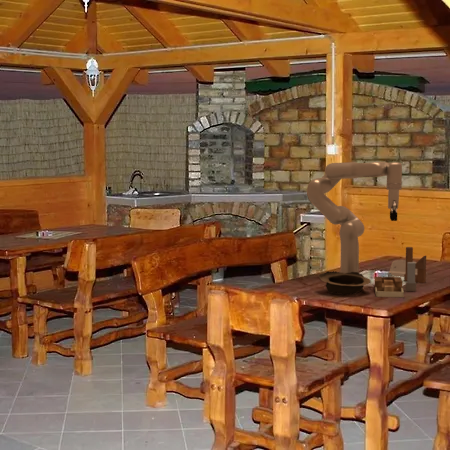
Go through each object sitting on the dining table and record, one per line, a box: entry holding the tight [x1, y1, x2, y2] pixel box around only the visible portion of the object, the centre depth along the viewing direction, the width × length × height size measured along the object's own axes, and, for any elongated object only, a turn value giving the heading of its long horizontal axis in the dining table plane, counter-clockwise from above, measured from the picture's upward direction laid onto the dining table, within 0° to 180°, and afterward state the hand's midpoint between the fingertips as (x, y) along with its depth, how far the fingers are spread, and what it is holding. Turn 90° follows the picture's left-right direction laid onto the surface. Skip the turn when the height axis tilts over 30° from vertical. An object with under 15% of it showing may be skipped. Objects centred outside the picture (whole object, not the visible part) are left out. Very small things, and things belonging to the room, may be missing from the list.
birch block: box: [385, 285, 394, 292], centre depth 397 cm, size 4×4×4 cm
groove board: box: [374, 276, 403, 292], centre depth 411 cm, size 13×13×6 cm
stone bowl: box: [318, 270, 371, 296], centre depth 406 cm, size 25×25×9 cm
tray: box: [374, 287, 405, 298], centre depth 399 cm, size 13×12×2 cm
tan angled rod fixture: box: [403, 246, 427, 284], centre depth 434 cm, size 4×11×18 cm, turn 55°
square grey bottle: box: [404, 261, 417, 292], centre depth 409 cm, size 5×4×14 cm
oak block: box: [384, 280, 393, 292], centre depth 401 cm, size 4×4×6 cm
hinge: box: [388, 259, 418, 278], centre depth 454 cm, size 17×5×10 cm, turn 59°
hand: (393, 219), depth 426 cm, fingers open, 9 cm apart
